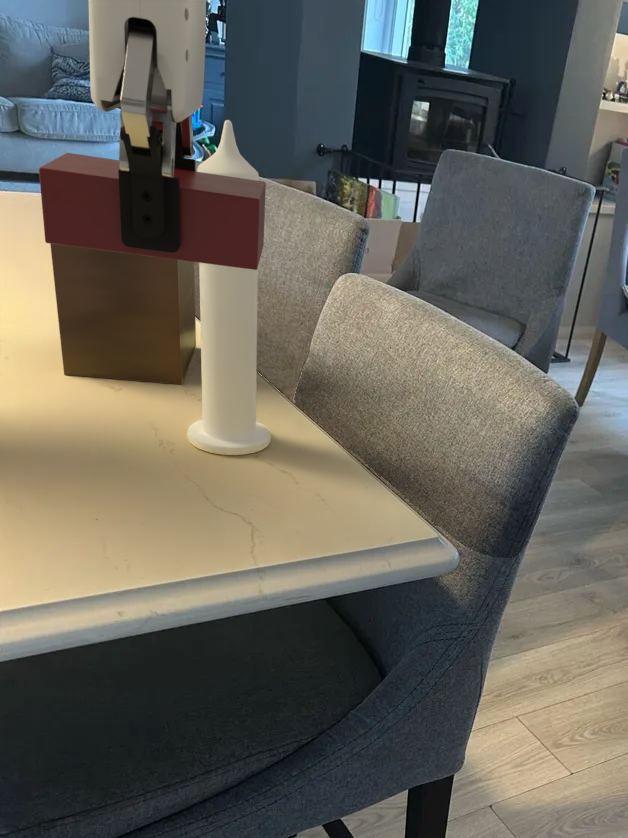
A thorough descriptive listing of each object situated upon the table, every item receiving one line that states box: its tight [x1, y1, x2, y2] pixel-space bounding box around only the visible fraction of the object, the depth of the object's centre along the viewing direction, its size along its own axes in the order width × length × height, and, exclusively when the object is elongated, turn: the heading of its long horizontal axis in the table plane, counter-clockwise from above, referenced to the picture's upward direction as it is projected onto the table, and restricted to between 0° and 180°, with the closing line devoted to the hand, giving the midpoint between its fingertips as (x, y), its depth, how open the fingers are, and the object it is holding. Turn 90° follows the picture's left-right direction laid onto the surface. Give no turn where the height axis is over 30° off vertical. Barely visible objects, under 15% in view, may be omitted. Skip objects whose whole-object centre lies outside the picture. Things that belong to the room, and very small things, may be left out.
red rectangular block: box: [38, 152, 267, 270], centre depth 53 cm, size 6×12×4 cm, turn 97°
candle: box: [187, 119, 271, 456], centre depth 71 cm, size 7×7×25 cm
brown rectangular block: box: [49, 243, 197, 385], centre depth 88 cm, size 11×12×14 cm
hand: (161, 232), depth 54 cm, fingers closed on red rectangular block, 6 cm apart
